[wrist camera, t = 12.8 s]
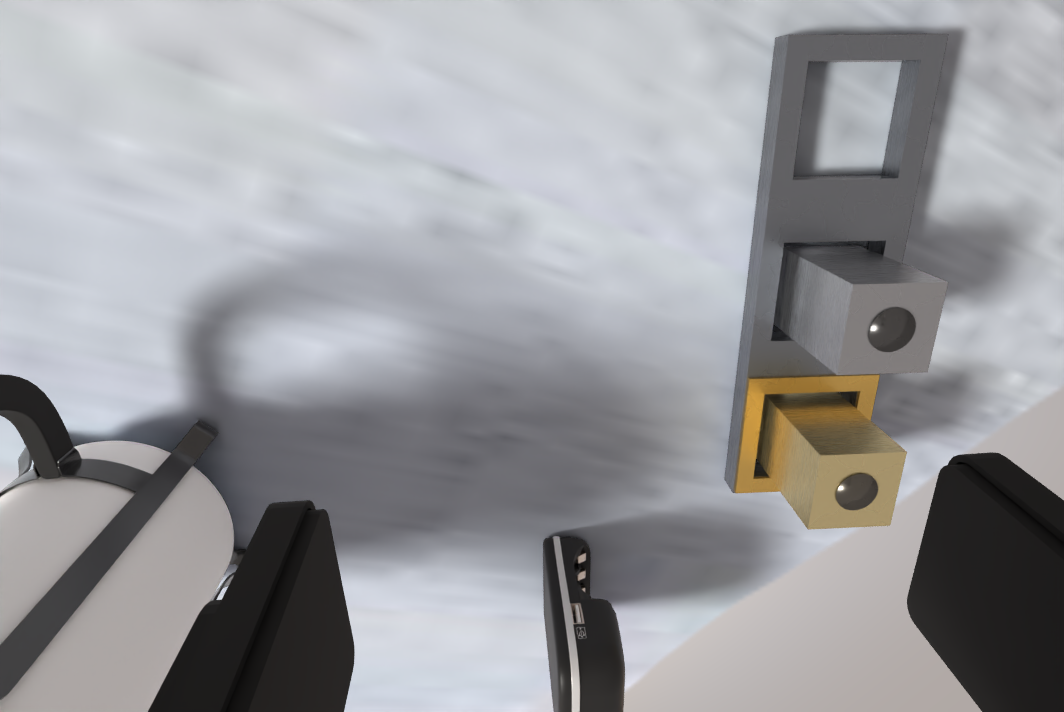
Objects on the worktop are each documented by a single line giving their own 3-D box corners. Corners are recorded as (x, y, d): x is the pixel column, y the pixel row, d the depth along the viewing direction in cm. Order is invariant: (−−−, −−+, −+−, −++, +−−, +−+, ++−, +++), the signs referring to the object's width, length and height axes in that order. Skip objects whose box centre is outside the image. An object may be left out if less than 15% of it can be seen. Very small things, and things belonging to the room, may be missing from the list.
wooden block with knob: (760, 389, 41) (821, 456, 33) (831, 387, 41) (908, 452, 33) (752, 453, 42) (808, 530, 35) (820, 450, 43) (891, 526, 35)
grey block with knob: (781, 246, 37) (854, 285, 30) (858, 245, 38) (949, 282, 30) (771, 322, 39) (838, 376, 31) (844, 319, 39) (928, 372, 32)
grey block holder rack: (775, 37, 33) (790, 34, 32) (928, 36, 34) (951, 33, 32) (724, 479, 43) (734, 494, 41) (843, 474, 43) (858, 489, 42)
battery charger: (597, 611, 46) (628, 764, 36) (543, 614, 46) (558, 769, 36) (599, 528, 44) (634, 667, 33) (542, 531, 44) (558, 672, 33)
